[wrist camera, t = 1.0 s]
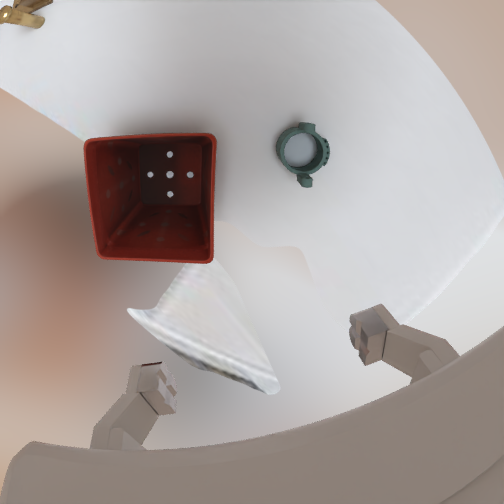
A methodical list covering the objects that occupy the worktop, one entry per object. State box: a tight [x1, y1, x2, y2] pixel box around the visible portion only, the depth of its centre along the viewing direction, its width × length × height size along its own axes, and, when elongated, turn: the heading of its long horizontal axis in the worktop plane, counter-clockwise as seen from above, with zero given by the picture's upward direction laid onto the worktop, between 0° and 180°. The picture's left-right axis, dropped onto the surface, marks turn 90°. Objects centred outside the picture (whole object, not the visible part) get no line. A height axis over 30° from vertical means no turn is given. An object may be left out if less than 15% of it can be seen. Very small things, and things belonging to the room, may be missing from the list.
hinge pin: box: [0, 5, 45, 29], centre depth 24 cm, size 4×4×14 cm
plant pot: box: [84, 133, 217, 264], centre depth 44 cm, size 19×19×17 cm
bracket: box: [276, 122, 330, 188], centre depth 47 cm, size 9×9×9 cm
